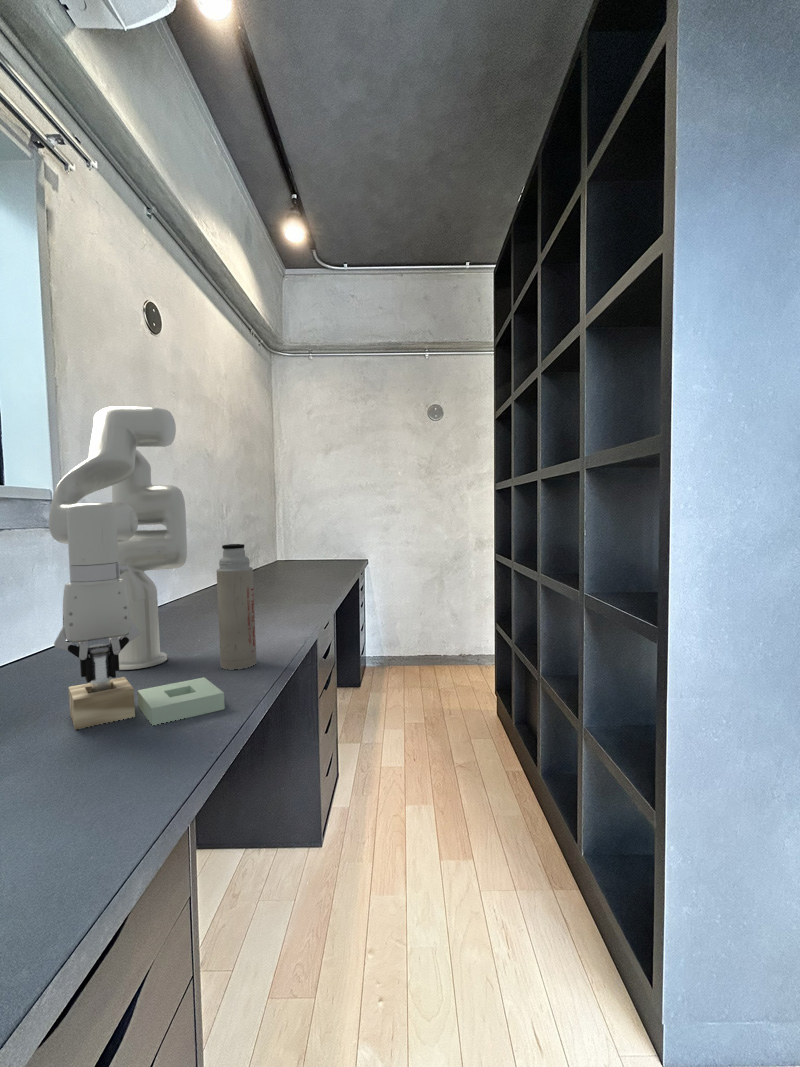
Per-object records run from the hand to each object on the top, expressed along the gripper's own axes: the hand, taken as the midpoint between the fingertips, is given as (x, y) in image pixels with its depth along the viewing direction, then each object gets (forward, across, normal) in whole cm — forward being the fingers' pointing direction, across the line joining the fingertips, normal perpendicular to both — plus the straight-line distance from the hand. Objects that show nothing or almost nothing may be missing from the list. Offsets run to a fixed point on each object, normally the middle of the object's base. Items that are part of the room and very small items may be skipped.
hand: (100, 677), depth 96 cm
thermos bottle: (+7, -30, -16) cm, 35 cm away
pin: (+7, 0, 0) cm, 7 cm away
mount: (+7, 0, 0) cm, 7 cm away
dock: (+7, -12, +5) cm, 15 cm away
